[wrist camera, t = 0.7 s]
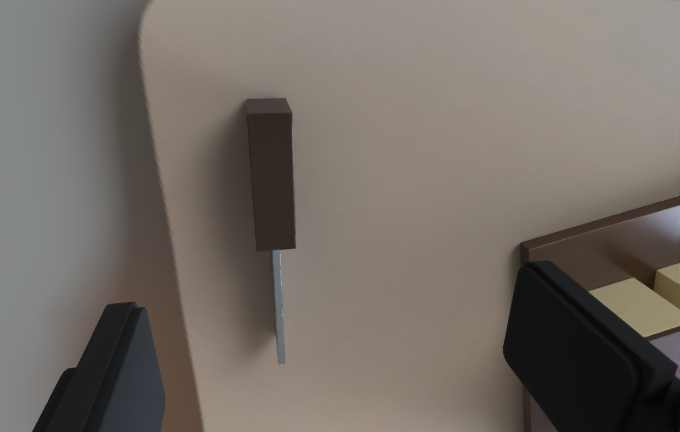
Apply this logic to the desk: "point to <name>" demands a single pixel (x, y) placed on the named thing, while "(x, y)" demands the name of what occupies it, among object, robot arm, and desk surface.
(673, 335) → the cake
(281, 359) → the knife
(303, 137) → the desk surface
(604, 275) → the cake board
